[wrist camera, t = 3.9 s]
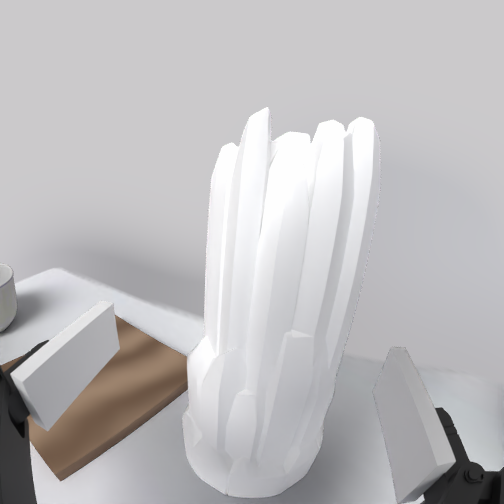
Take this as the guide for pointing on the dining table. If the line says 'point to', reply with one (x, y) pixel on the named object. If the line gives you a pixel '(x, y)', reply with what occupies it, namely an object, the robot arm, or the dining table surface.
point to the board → (112, 401)
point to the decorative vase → (278, 299)
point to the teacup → (7, 296)
